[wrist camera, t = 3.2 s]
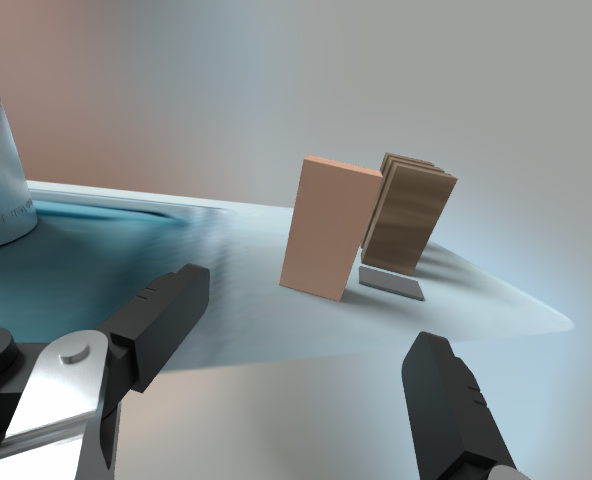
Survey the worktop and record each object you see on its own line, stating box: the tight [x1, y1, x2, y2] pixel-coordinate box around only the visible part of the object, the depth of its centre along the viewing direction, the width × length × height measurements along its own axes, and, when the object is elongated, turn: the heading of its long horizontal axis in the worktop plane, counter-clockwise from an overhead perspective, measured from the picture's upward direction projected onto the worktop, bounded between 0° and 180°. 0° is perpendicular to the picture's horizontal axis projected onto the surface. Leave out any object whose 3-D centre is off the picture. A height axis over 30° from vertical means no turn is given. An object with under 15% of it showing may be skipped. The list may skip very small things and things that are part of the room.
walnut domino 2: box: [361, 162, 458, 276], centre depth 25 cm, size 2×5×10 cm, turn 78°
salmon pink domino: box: [279, 155, 383, 302], centre depth 19 cm, size 2×5×10 cm, turn 78°
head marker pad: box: [359, 266, 424, 301], centre depth 24 cm, size 3×6×1 cm, turn 78°
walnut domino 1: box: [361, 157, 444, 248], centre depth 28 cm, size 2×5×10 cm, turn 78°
